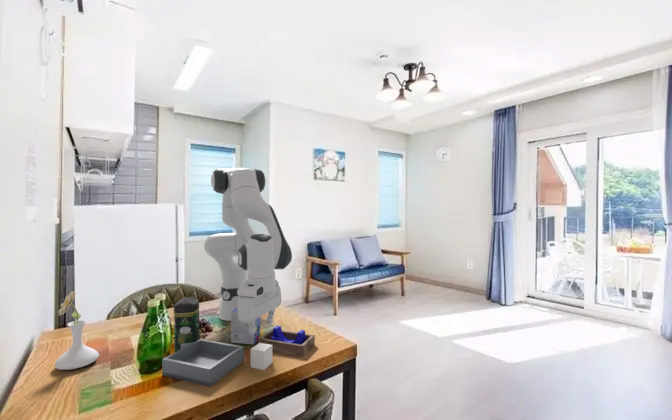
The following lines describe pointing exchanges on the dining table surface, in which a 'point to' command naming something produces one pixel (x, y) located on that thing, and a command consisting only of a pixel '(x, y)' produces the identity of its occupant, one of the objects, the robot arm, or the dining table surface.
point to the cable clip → (280, 336)
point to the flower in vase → (75, 341)
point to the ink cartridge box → (243, 330)
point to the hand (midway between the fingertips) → (261, 327)
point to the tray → (203, 362)
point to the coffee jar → (186, 322)
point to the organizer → (288, 347)
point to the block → (261, 356)
